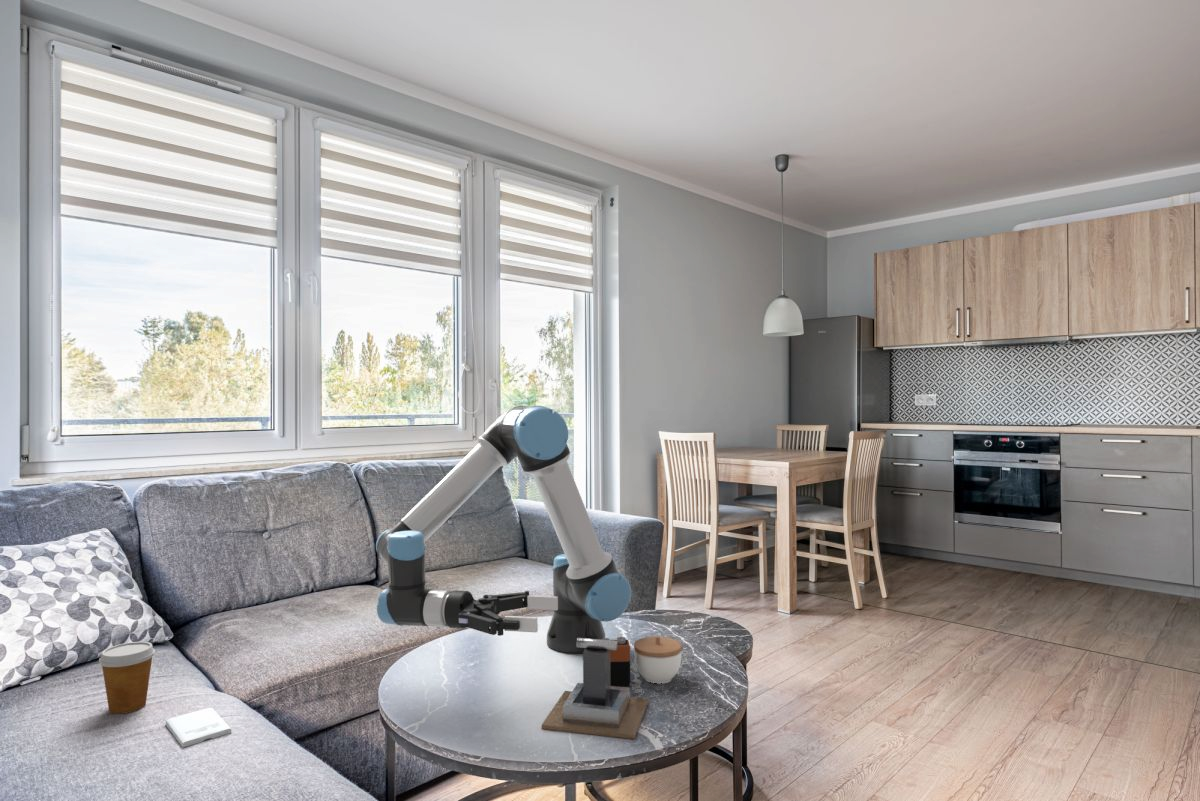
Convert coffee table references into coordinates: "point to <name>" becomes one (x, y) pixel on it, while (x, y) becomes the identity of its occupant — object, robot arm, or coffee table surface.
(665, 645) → the lidded jar
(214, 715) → the external hard drive
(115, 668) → the disposable coffee cup
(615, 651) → the battery
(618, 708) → the chuck block
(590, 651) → the chuck key
